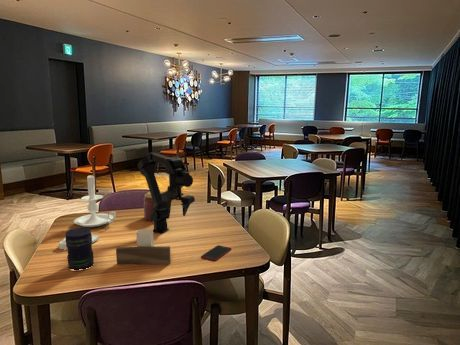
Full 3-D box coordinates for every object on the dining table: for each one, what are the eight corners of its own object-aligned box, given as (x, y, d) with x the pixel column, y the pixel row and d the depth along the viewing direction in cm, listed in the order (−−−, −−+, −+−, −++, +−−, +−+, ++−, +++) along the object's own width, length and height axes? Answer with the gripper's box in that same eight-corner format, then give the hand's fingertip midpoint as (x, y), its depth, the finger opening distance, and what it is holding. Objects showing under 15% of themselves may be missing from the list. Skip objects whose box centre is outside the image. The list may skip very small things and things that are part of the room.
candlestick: (104, 233, 184) (100, 180, 179) (65, 228, 192) (60, 177, 186) (127, 221, 203) (124, 173, 198) (91, 217, 211) (87, 170, 206)
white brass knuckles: (77, 253, 161) (52, 249, 166) (103, 239, 178) (79, 235, 182) (77, 246, 160) (51, 242, 165) (103, 232, 177) (78, 229, 182)
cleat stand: (124, 253, 159) (123, 239, 158) (173, 253, 160) (172, 238, 158) (117, 264, 148) (115, 249, 147) (170, 263, 149) (169, 248, 147)
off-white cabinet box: (140, 256, 156) (139, 229, 154) (154, 256, 156) (152, 229, 154) (137, 261, 151) (136, 233, 149) (152, 261, 152) (150, 233, 149)
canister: (156, 213, 217) (154, 185, 214) (171, 217, 210) (170, 188, 206) (139, 219, 207) (137, 189, 203) (154, 223, 199) (153, 192, 196)
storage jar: (68, 273, 141) (64, 237, 138) (68, 263, 150) (65, 229, 147) (94, 268, 145) (91, 233, 142) (93, 259, 154) (90, 226, 151)
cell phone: (200, 258, 155) (200, 256, 154) (217, 246, 167) (217, 244, 167) (215, 262, 151) (215, 260, 151) (232, 250, 163) (232, 248, 163)
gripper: (149, 185, 170) (150, 216, 173) (181, 189, 161) (182, 222, 164) (164, 180, 179) (165, 210, 182) (194, 184, 171) (195, 215, 174)
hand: (176, 214), depth 175 cm, fingers open, 9 cm apart
